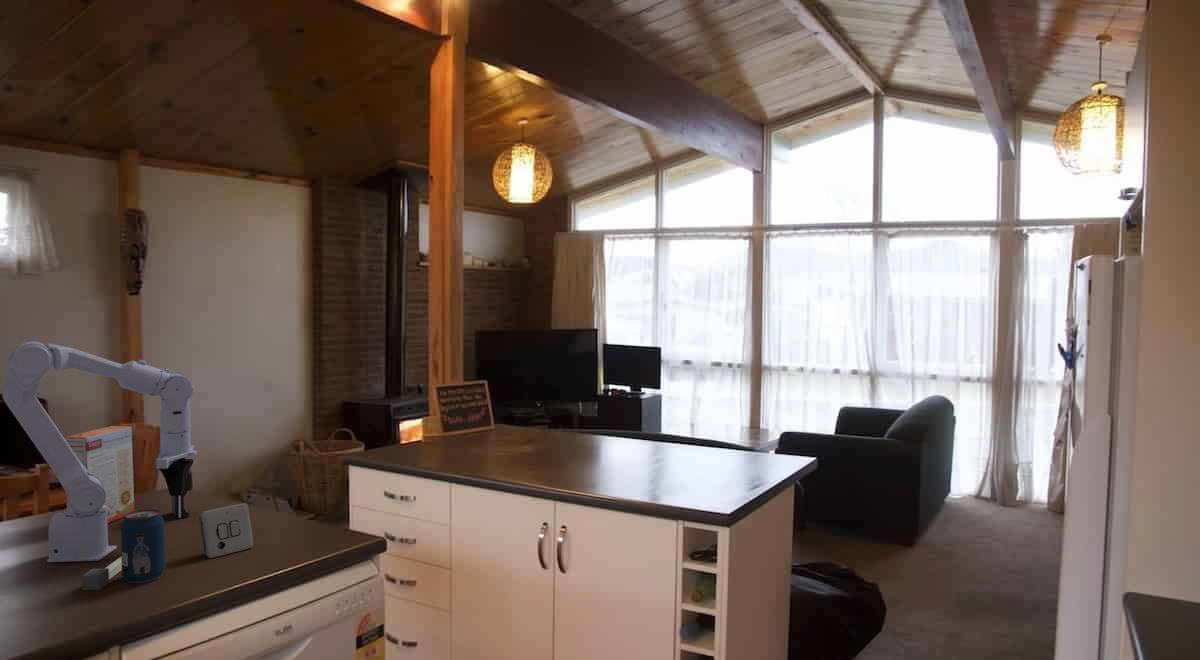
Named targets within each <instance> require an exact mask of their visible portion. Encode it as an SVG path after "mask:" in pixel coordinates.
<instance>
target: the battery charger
mask: <svg viewBox="0 0 1200 660" xmlns="http://www.w3.org/2000/svg"><path fill="white" fill-rule="evenodd" d="M193 484H194V483H193V473H192V470H191V469H190V470H189V472H188V475H187V479H186V483H185V488H184V492H183V494H182V495H181V496H171V512H172V514H173V516H174V517H175V518H176V519H178V518H179V519H181V518H185V517H189V516H190V515H191V513H190V511H189V509H188V507H185V502H184V501H185V500H184V498H185V496H187V493H188V492H190V491H192V490H193V488H194V487H193Z"/></svg>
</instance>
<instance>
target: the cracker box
mask: <svg viewBox="0 0 1200 660" xmlns="http://www.w3.org/2000/svg"><path fill="white" fill-rule="evenodd" d="M132 430H133V429H132V426H123V425H120V426H119V425H111V426H107V427H101V428H98V429H93V430H89V431H84V432H81V433H77V434H73V435H72V434H71V435H68V436H65V437H64V439H65V440H66V442H67V443H68V445H69V446H70V447H71V449H72V450H73V452H74V453H75V455H76V456H77V458H78V459H79V461H80V462H81V463H82V464H83V465H84V467H85V468H86V470H87V471H88V472H89V473H91V474H93V475H95V476H97V477H98V478H99V479H100V480H101V482H102V485H103V488H104V490H105V492H106V501H105V503H104V505H106V506H107V517H108V524H109V523H111V522H112V523H113V522H115V521H117V520H120V519H123V518H125V515H126V514H127V513H130V512H134V511H135V492H134V468H133V467H134V464H133V463H134V462H133V461H134V460H133V457H134V456H133V435H132V434H133V431H132ZM68 506H69V505H68V497H67V495H66V508H67V507H68Z"/></svg>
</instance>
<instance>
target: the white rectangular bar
mask: <svg viewBox="0 0 1200 660" xmlns="http://www.w3.org/2000/svg"><path fill="white" fill-rule="evenodd" d="M119 572H122V555H121V556H120V557H118V558H117V559H116V560H115V561H113V562H111V563H110V564H109V565H107V566H106V567H104V568H103V567H102V568H90V570H88V571H87V572H85V573H84V574H83V575H82V576H81V589H82V590H81V591H99V590H101V589H102V588H104V587H105V586H106V585H108V584H109V583H110V579H112V578H113V577H114V576H115V575H117V574H118V573H119Z"/></svg>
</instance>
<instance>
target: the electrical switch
mask: <svg viewBox="0 0 1200 660" xmlns="http://www.w3.org/2000/svg"><path fill="white" fill-rule="evenodd" d="M198 519H199V526H200V533H201V538H202V539H201V540H202V545H203V553H204V555H206V557H207V558H209V559H212V558H217V556H218V557H220V556H225V555H228V554H232V553H236V552H240V551H245V550H248V549H251V548H253V546H254V538H253V530H252V525H251V518H250V511H249V505H248V504H247V503H239V504H234V505H228V506H224V507H223V506H222V507H220V508H215V509H209V510H204V511H202V512H201V514H200V516H199V517H198Z"/></svg>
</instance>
